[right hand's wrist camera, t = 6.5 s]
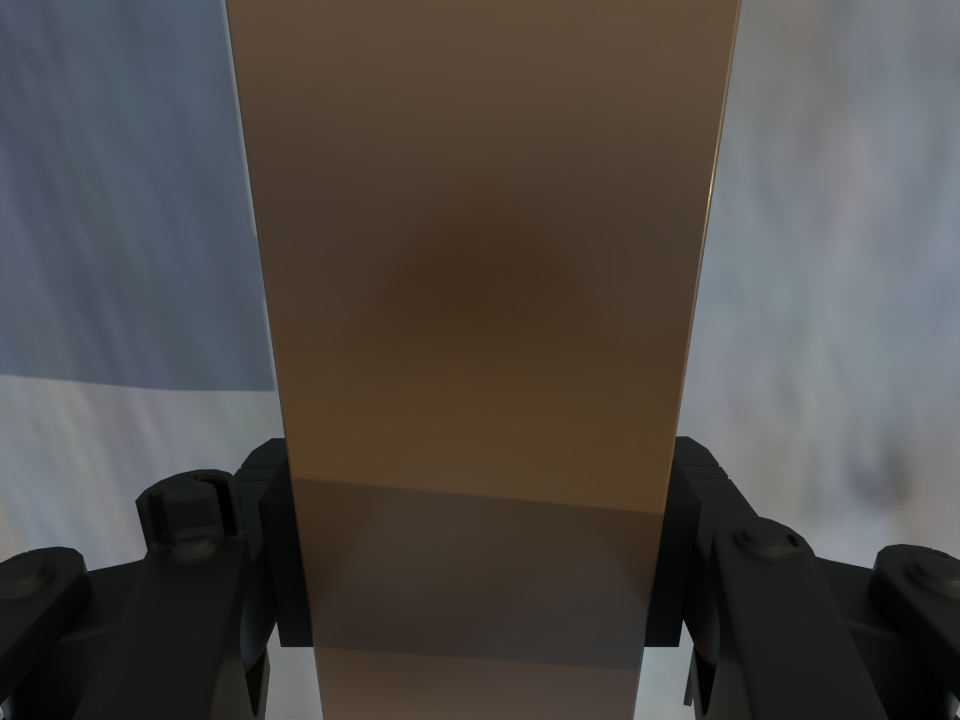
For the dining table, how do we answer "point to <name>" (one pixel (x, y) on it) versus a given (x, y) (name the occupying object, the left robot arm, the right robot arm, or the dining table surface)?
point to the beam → (481, 329)
